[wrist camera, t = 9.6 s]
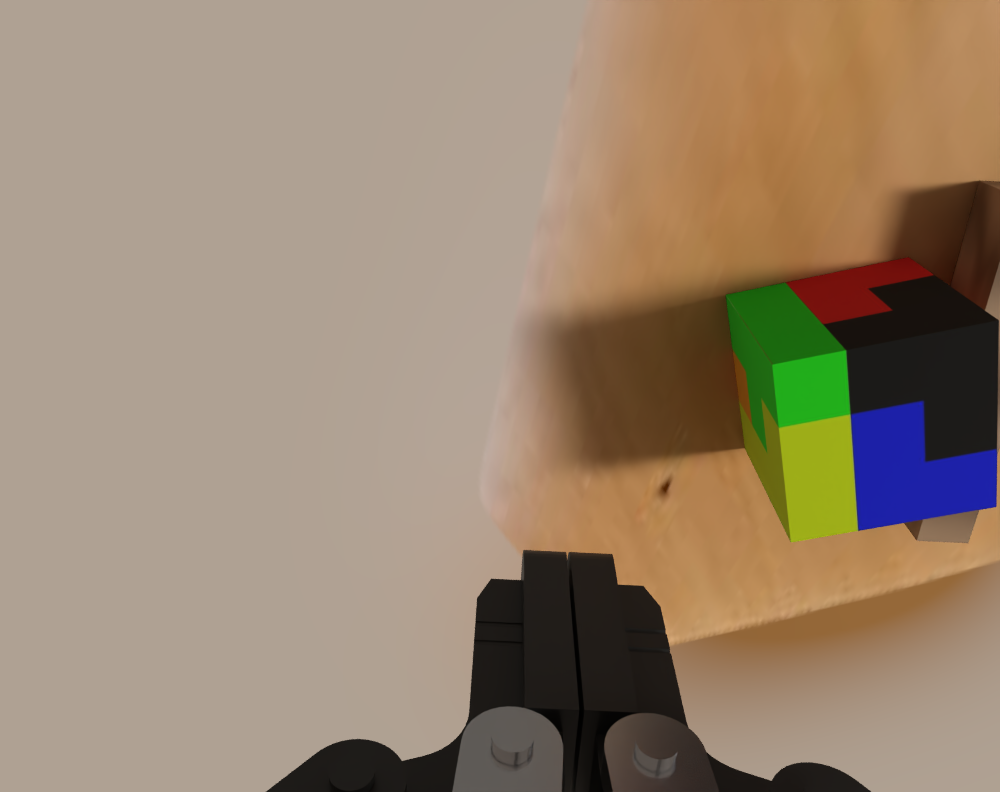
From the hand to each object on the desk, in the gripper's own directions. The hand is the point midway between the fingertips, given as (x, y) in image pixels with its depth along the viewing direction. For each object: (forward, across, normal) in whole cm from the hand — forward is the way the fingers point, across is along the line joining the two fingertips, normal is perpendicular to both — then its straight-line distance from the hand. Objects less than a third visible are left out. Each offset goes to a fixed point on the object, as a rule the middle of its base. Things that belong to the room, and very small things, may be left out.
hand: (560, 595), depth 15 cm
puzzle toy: (+35, -17, +9) cm, 40 cm away
